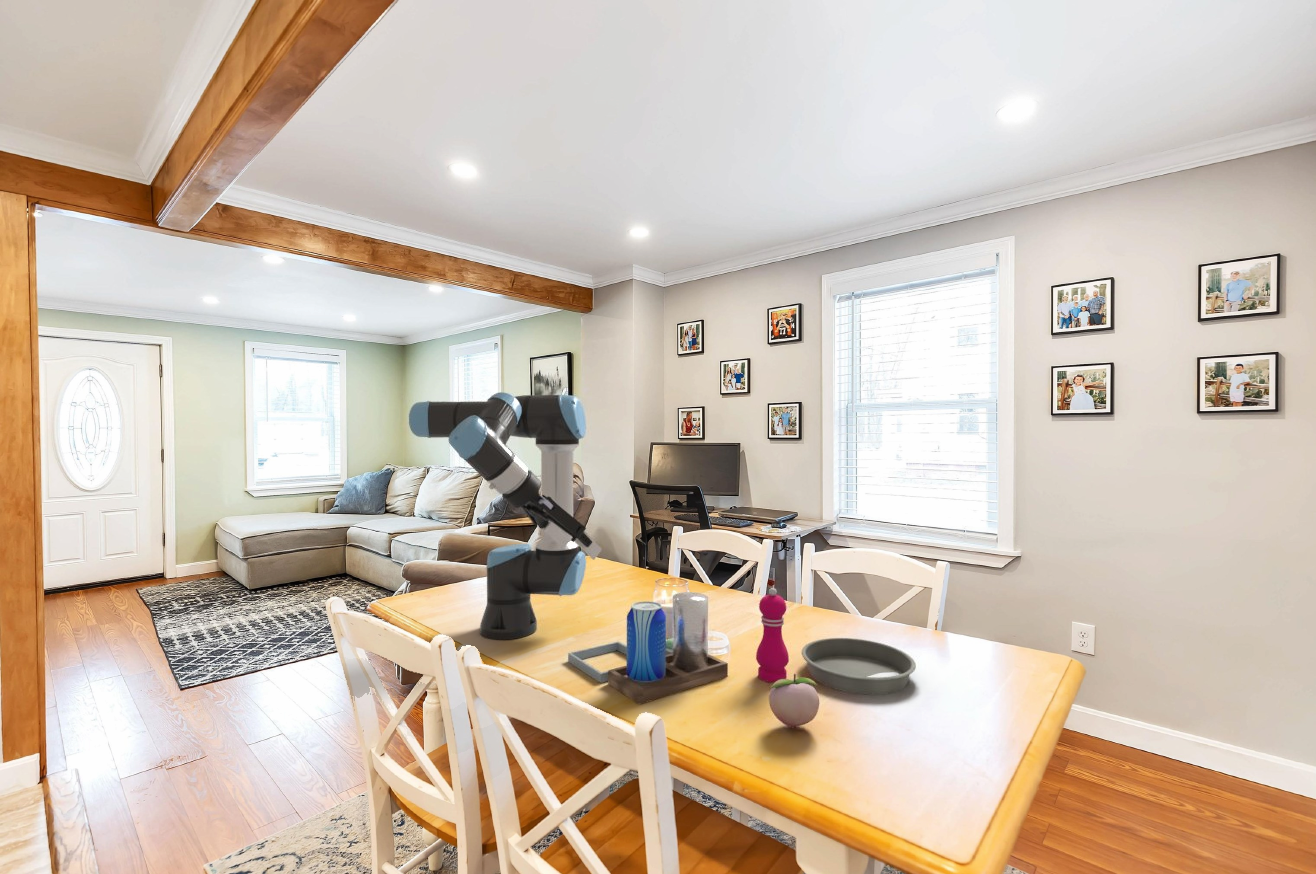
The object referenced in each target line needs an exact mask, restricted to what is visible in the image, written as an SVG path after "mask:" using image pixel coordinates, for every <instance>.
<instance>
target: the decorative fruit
mask: <svg viewBox="0 0 1316 874" xmlns="http://www.w3.org/2000/svg"><path fill="white" fill-rule="evenodd" d="M813 685H814V686H818V685H817V683H816V682H815V681H814V680H813V679H811V678H808V677H797V674H796V673H794V674H793V678H791V679H788V678H786V679H780V680H778V681H776V682H775V683H773V684H772V685H771V686H770V691H769V695H768V704H769V707H770V710H771V711H772V715H774V716H775V718H776V719H778V721H780V723H782V724H784V725H785V726H788V727H790V728H793V729H795V728H797V727H800V726H804V725H807V724H808V723H810V722H812V721H813V720H814V719H815V717H816V716H817V714H818V712H819V708H820V696H819V694H818V692H817V690H816V688H815V687H814V686H813Z"/></svg>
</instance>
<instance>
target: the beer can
mask: <svg viewBox="0 0 1316 874" xmlns="http://www.w3.org/2000/svg"><path fill="white" fill-rule="evenodd" d="M662 607H663V606H662V604H661V603H660V602H656V601H649V600H647V601H646V600H645V601H638V602H634V603H632V604H631V606H630V610H629V612H627V615H626V646H627V655H626V665H627V676H628V677H629V679H630V680H631V681H632V682H634V683H636V684H637V685H639V686H644V685H648V684H651V683H654V682H658V681H661V680H662V679H663V677H664V676H665V674H666V640H667V639H666V638H667V635H666V634H667V616H666V614H665V612H664V610H663V608H662Z"/></svg>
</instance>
